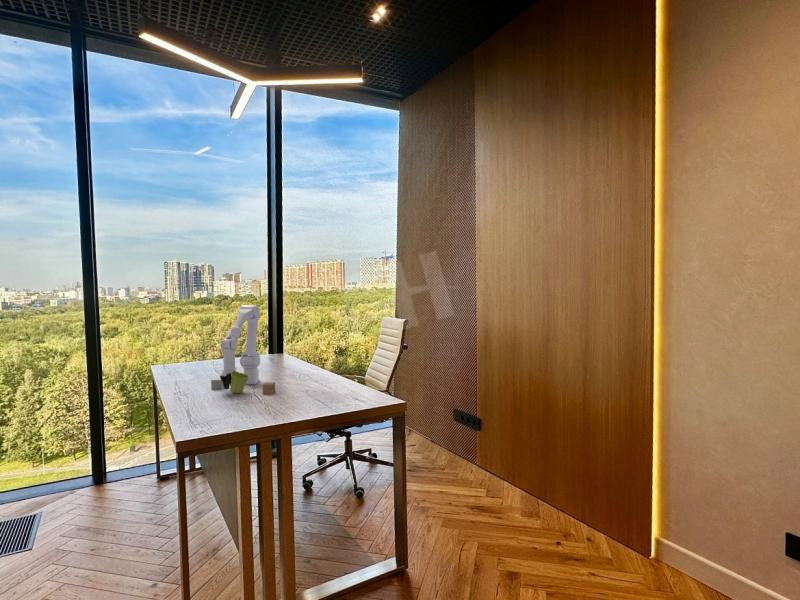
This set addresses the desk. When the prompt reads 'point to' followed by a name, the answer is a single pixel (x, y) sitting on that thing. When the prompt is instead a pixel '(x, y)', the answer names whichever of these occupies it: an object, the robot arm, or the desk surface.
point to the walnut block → (269, 387)
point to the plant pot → (238, 382)
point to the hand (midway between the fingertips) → (229, 387)
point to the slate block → (216, 383)
